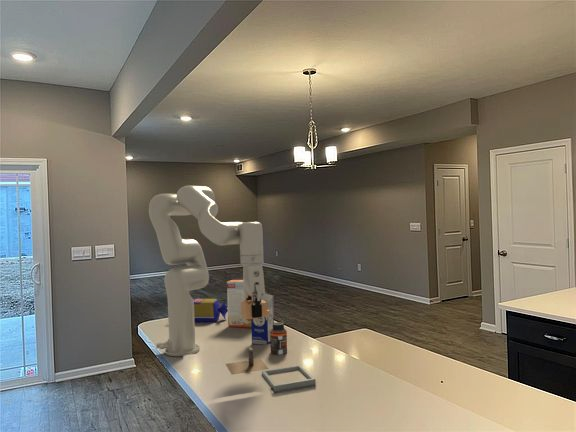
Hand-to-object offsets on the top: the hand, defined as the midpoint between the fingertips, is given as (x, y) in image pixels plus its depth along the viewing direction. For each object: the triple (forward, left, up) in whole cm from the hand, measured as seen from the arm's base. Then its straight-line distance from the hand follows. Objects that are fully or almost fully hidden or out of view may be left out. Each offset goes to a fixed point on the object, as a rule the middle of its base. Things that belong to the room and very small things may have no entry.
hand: (253, 314), depth 134 cm
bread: (-7, +76, -18) cm, 78 cm away
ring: (0, 0, 0) cm, 0 cm away
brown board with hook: (-2, +2, -18) cm, 18 cm away
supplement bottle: (+12, +11, -18) cm, 24 cm away
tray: (+7, -13, -18) cm, 23 cm away
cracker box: (+10, +56, -18) cm, 59 cm away
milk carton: (+11, +28, -18) cm, 35 cm away
